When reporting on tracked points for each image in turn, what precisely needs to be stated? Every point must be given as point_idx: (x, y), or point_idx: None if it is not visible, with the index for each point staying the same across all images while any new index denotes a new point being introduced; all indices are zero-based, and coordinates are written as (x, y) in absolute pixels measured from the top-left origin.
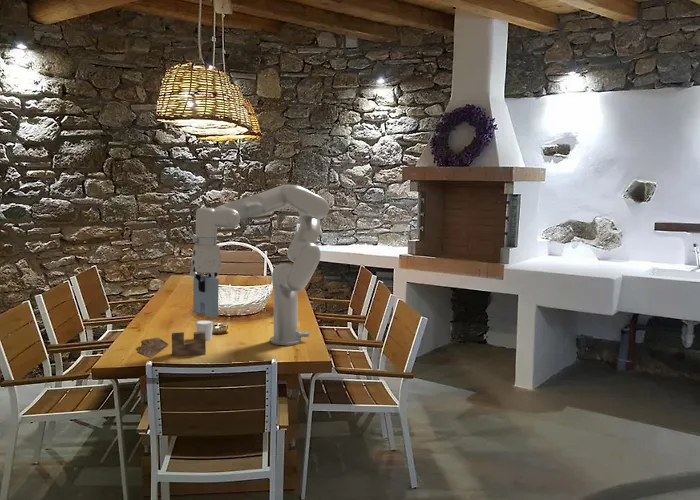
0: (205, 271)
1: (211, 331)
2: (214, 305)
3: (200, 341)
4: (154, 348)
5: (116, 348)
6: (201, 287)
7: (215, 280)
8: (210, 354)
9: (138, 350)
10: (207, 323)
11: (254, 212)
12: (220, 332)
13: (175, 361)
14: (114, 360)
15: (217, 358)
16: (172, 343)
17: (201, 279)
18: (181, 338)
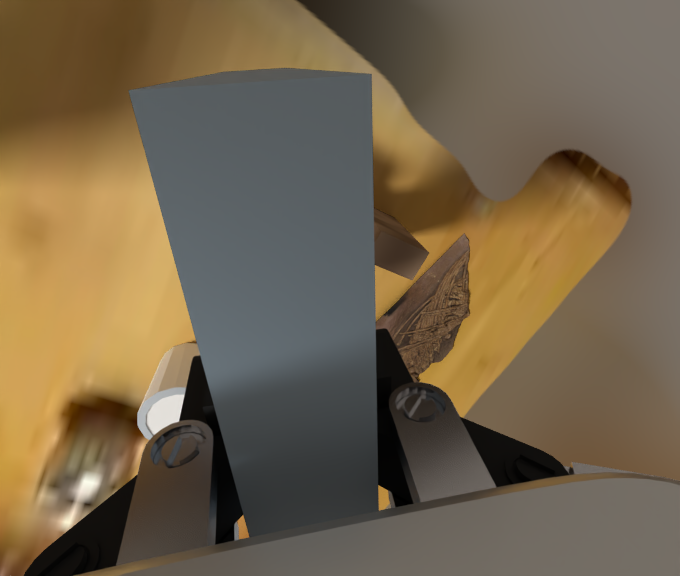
0: (491, 533)
1: (159, 371)
2: (265, 70)
3: None
4: (406, 325)
5: (490, 376)
6: (378, 340)
7: (261, 80)
8: None
9: (459, 325)
10: (176, 394)
11: None
12: (96, 421)
13: (419, 132)
14: (561, 264)
15: (241, 55)
16: (409, 235)
17: (435, 411)
18: (382, 227)
